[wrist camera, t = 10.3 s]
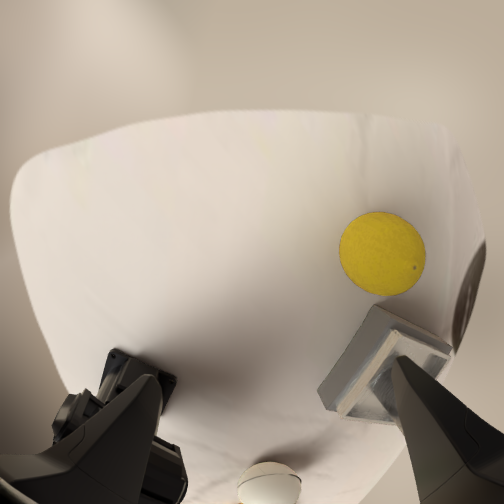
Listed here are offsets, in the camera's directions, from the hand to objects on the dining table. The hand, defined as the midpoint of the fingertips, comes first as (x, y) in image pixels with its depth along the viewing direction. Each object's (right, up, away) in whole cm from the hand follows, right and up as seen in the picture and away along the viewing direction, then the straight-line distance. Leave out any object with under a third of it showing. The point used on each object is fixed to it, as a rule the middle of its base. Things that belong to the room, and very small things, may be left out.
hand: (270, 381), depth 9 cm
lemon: (+8, +5, +13) cm, 16 cm away
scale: (+13, -7, +16) cm, 22 cm away
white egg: (+1, -20, +18) cm, 27 cm away
